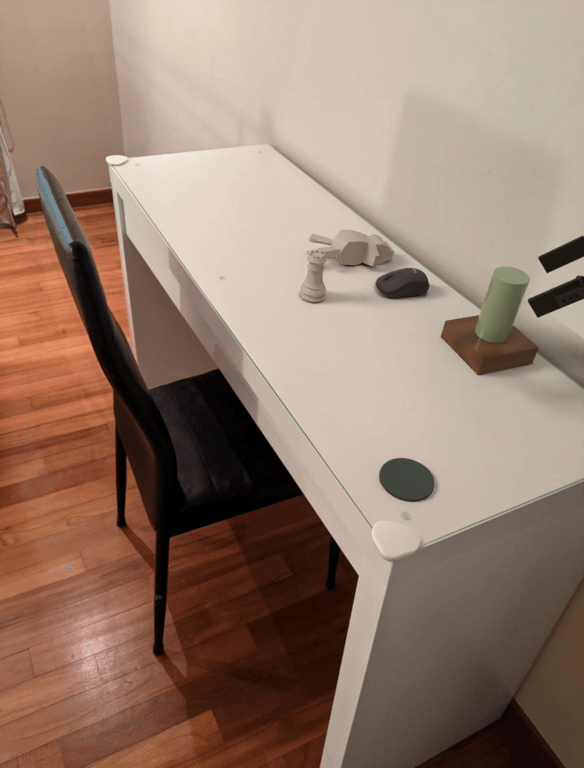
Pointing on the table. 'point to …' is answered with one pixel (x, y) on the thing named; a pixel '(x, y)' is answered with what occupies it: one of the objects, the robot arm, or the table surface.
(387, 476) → the coaster
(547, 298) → the robot arm
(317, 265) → the rook chess piece
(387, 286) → the computer mouse
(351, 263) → the bunny figurine
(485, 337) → the green round cylinder
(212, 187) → the table surface
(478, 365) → the walnut platform
